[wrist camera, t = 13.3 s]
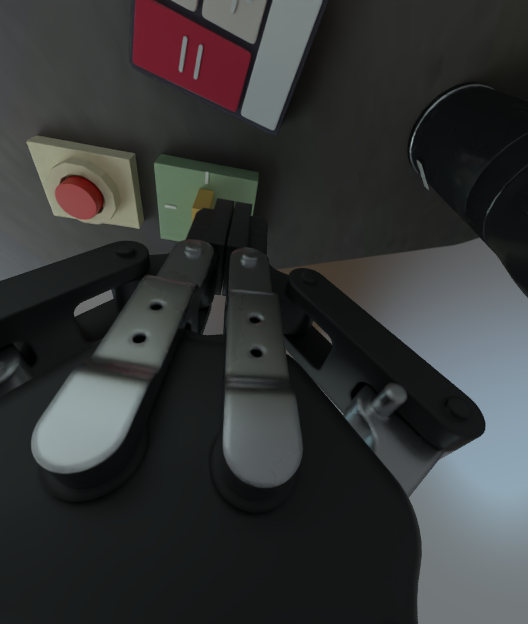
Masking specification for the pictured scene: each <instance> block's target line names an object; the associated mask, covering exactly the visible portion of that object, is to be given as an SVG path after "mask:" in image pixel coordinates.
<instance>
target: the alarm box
mask: <svg viewBox="0 0 528 624" xmlns="http://www.w3.org/2000/svg"><path fill="white" fill-rule="evenodd" d="M26 142H27V145H28V147H29V150H30V153H31V155H32V158H33V161H34V163H35V166H36V169H37V171H38V174H39V177H40V179H41V182H42V185H43V187H44V190H45V193H46V195H47V198H48V201H49V203H50V206H51V208H52V211H53V214H54V215H55V216H61V217H68V218H74V219H78V218H75V217H73V216H71V215H69V214H68V213H66V212H65V211H64V210H63V209H62V208H61V207H60V206H59V204H58V202H57V200H56V197H55V190H56V188H57V186H58V185H60V184H61V183H62V182H63V181H64V180H66V179H67V178H68V177H71V176H79V177H83V178H85V179H87V180H89V181H91V182H92V183H93V184H94V185H95V186H96V187H97V188H98V189H99V190H100V192H101V194H102V197H103V206H102V208H101V209H100V210H99V211H98V212H97V214H96V215H95V216H94V217H93V218H91V219H87V220H82V219H78V220H80V221H82V222H85V223H92V224H101V223H107V224H113V225H119V226H126V227H132V228H139V229H140V227H141V225H142V224H143V222H144V216H143V208H142V201H141V193H140V186H139V179H138V171H137V164H136V156H135V153H130V152H125V151H119V150H114V149H108V148H103V147H98V146H92V145H87V144H82V143H76V142H71V141H65V140H60V139H55V138H49V137H44V136H39V135H36V136H34V137H33V138H31V139H29V140H27V141H26Z"/></svg>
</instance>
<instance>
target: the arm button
mask: <svg viewBox="0 0 528 624" xmlns="http://www.w3.org/2000/svg"><path fill="white" fill-rule="evenodd" d="M55 197H56V200H57V202H58V204H59V206H60V207H61V208H62V209H63V210H64V211H65V212H66V213H68V214H69V215H71V216H73V217H75V218H78V219H82V220H87V219H91V218H93V217H94V216H95V215H96V214H97V212H98V211H99V210H100V209H101V208H102V206H103V197H102V194H101V192H100V190H99V189H98V188H97V187H96V186H95V185H94V184H93V183H92V182H91V181H89V180H87V179H85V178H83V177H79V176H71V177H68V178H67V179H66V180H64V181H63V182H62V183H61V184H60V185H58V186H57V188H56V190H55Z"/></svg>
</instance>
